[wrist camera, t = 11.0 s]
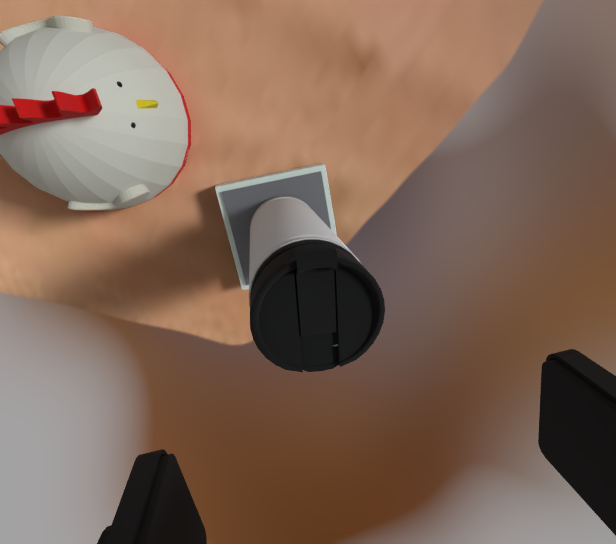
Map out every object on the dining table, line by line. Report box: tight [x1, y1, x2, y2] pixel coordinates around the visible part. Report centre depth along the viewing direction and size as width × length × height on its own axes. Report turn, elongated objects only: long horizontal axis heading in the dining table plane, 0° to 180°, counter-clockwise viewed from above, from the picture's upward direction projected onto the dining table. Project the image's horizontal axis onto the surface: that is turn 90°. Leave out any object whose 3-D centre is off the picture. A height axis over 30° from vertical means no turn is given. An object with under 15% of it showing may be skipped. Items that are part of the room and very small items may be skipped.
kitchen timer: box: [0, 16, 191, 210], centre depth 26 cm, size 14×14×15 cm
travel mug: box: [249, 196, 385, 372], centre depth 26 cm, size 6×7×20 cm
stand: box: [215, 163, 337, 290], centre depth 37 cm, size 10×10×2 cm
